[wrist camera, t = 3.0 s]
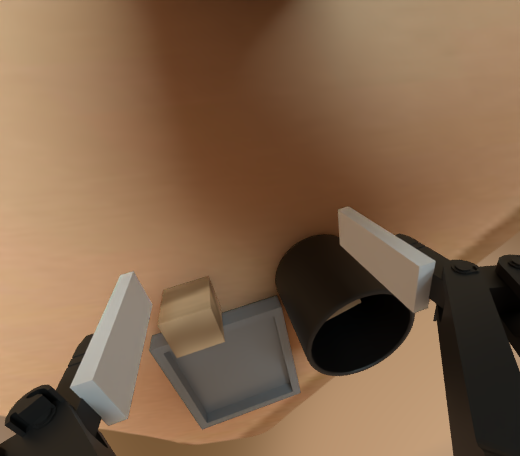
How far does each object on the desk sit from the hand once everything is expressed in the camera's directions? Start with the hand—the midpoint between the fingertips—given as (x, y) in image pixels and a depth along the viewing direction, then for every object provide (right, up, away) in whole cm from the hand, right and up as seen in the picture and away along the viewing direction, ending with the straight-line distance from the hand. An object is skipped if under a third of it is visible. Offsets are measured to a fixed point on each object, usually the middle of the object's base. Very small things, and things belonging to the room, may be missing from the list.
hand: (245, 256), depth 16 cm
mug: (+8, -4, +13) cm, 15 cm away
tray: (-2, -15, +15) cm, 22 cm away
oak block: (-6, -5, +10) cm, 13 cm away
